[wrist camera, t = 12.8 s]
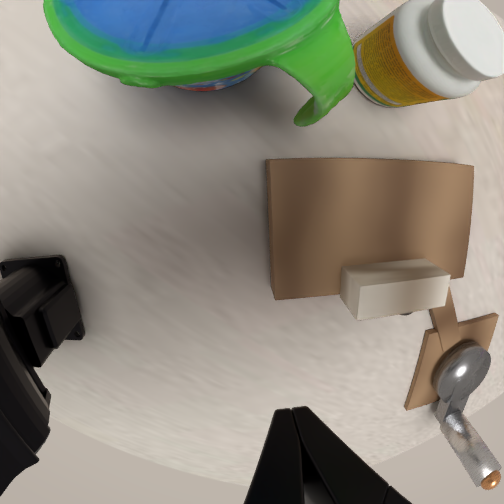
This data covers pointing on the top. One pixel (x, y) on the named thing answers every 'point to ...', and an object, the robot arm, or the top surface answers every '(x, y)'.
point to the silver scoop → (453, 403)
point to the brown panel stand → (377, 244)
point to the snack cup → (211, 43)
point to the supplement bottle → (429, 52)
